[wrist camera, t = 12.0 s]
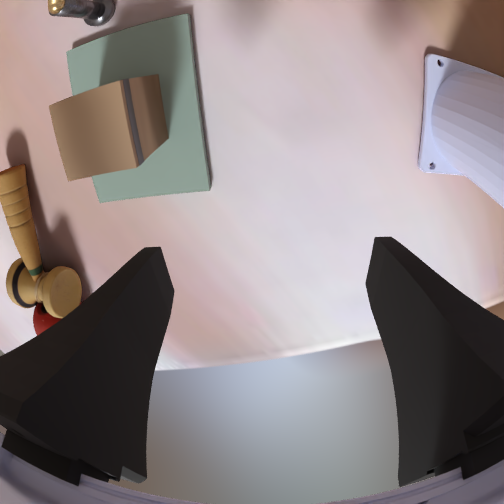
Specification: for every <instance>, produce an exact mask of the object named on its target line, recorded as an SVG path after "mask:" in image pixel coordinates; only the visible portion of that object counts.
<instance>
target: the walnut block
mask: <svg viewBox="0 0 504 504" xmlns="http://www.w3.org/2000/svg"><path fill="white" fill-rule="evenodd" d="M49 109H50V114H51V118H52V123H53V127H54V132H55V136H56V140H57V144H58V147H59V151H60V155H61V158H62V162H63V165H64V169H65V172H66V175H67V179H68V181H72V180H76V179H81V178H86V177H90V176H95V175H100V174H105V173H111V172H116V171H122V170H127V169H133V168H137V167H138V166H140V165H141V164H142V163H143V162H144V161H145V160H146V159H147V158H148V157H149V156H150V155H151V154H152V153H153V152H154V151H155V150H156V149H158V148H159V147H160V146H161V145H162V144H163V143H164V142H165V141H167V140H168V139H169V137H168V132H167V126H166V120H165V114H164V108H163V101H162V95H161V88H160V81H159V74H155V75H149V76H142V77H136V78H130V79H129V78H128V79H123V80H119V81H116V82H112V83H109V84H106V85H103V86H100V87H97V88H94V89H91V90H88V91H85V92H82V93H80V94H77V95H74V96H72V97H69V98H66V99H64V100H62V101H59V102H57V103H54V104H52V105H50V106H49Z"/></svg>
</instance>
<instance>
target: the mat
mask: <svg viewBox="0 0 504 504" xmlns="http://www.w3.org/2000/svg"><path fill="white" fill-rule="evenodd" d="M66 53H67V61H68V69H69V76H70V82H71V88H72V94H73V96H74V95H77V94H80V93H82V92H85V91H88V90H91V89H94V88H97V87H100V86H103V85H106V84H109V83H112V82H116V81H119V80H123V79H128V78H129V79H130V78H136V77H142V76H149V75H155V74H159V81H160V88H161V95H162V101H163V108H164V114H165V120H166V126H167V132H168V137H169V139H168V140H167V141H165V142H164V143H163V144H162V145H161V146H160V147H159V148H158V149H156V150H155V151H154V152H153V153H152V154H151V155H150V156H149V157H148V158H147V159H146V160H145V161H144V162H143V163H142V164H141V165H140V166H138V167H137V168H133V169H127V170H122V171H116V172H111V173H105V174H100V175H95V176H92V179H93V183H94V186H95V189H96V193H97V196H98V199H99V202H100V203H103V202H110V201H117V200H125V199H133V198H141V197H150V196H159V195H168V194H178V193H189V192H200V191H210V188H211V183H210V176H209V169H208V162H207V155H206V148H205V140H204V133H203V126H202V118H201V110H200V102H199V94H198V86H197V77H196V69H195V60H194V51H193V41H192V31H191V21H190V15H189V14H182V15H177V16H173V17H168V18H164V19H160V20H156V21H152V22H148V23H144V24H141V25H137V26H134V27H131V28H127V29H124V30H121V31H118V32H115V33H112V34H109V35H107V36H104V37H101V38H98V39H96V40H93V41H91V42H88V43H86V44H83V45H81V46H79V47H76V48H74V49H72V50H70V51H67V52H66Z"/></svg>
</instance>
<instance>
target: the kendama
mask: <svg viewBox="0 0 504 504" xmlns="http://www.w3.org/2000/svg"><path fill="white" fill-rule="evenodd" d="M26 183H27V180H26V170H25V165H24V164H21V165H19V166H14V167H11V168H9V169H6V170H4V171H1V172H0V202H1V205H2V208H3V211H4V214H5V216H6V220H7V223H8V226H9V229H10V232H11V235H12V237H13V240H14V242H15V245H16V247H17V249H18V251H19V254H20V256H21V258H19V259H17V260H16V261H15V262H14V263H13V264H12V265H11V267H10V269H9V271H8V273H7V278H6V288H7V293H8V295H9V297H10V299H11V300H12V301H13V302H14V303H15V304H17V305H19V306H21V307H23V308H31V307H34V306H35V305H36V307H35V310H34V315H33V324H34V328H35V332H36V334H37V336H38V335H39V334H41V333H42V332H43V331H45V330H46V329H48V328H49V327H51V326H52V325H54V324H55V323H57V322H58V321H60V320H61V319H62V318H64V317H65V316H66V315H67V314H69V313H70V312H71V311H73V310H74V309H75V308H76V307H78V306H79V305H80V304H81V303H82V302H81V301H80V300H81V294H82V286H81V281H80V278H79V276H78V274H77V273H76V272H75V271H74V270H73V269H71V268H68V267H65V266H58V267H55V268H54V269H52V270H51V271H50V272H46V273H45V272H44V270H43V266H42V261H41V256H40V250H39V245H38V240H37V235H36V230H35V226H34V221H33V217H32V211H31V207H30V201H29V195H28V188H27V184H26Z"/></svg>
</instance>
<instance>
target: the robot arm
mask: <svg viewBox="0 0 504 504" xmlns="http://www.w3.org/2000/svg"><path fill="white" fill-rule="evenodd" d="M438 60H440V62H441V65H440V66H439V65H438V63H437V61H438ZM432 162H433V165H432V167H430V168H429V165H430V164H431V163H432ZM418 167H419V169H420V170H421V171H423V172H426V173H440V174H452V175H462V176H466V177H467V178H468V179H470V180H471V181H472V182H473V183H475V184H476V185H477V186H478V187H480V188H481V189H482V190H483V191H484V192H486V193H487V194H488V195H489V196H490V197H492V198H493V199H494V200H495V201H496V202H497V203H498V204H499V205H501V206H502V207H503V208H504V78H503V77H501V76H498V75H496V74H493V73H491V72H488V71H486V70H483V69H480V68H478V67H475V66H472V65H469V64H466V63H463V62H460V61H457V60H454V59H450V58H447V57H443V56H440V55H436V54H427V55H426V57H425V88H424V109H423V122H422V133H421V143H420V152H419V159H418ZM366 288H367V293H368V298H369V302H370V306H371V310H372V313H373V316H374V319H375V322H376V325H377V327H378V330H379V333H380V336H381V339H382V342H383V345H384V348H385V351H386V354H387V358H388V361H389V365H390V369H391V373H392V379H393V384H394V391H395V397H396V406H397V416H398V430H399V469H398V480H399V486H400V487H402V486H405V487H402V488H398V489H394V490H390V491H386V492H382V493H378V494H374V495H369V496H364V497H359V498H353V499H347V500H341V501H334V502H327V503H318V504H504V320H503V319H501V318H499V317H498V316H496V315H494V314H492V313H491V312H489V311H488V310H486V309H485V308H483V307H482V306H480V305H479V304H477V303H476V302H474V301H473V300H472V299H470V298H469V297H467V296H466V295H464V294H463V293H462V292H460V291H459V290H458V289H456V288H455V287H454V286H453V285H451V284H450V283H449V282H447V281H446V280H445V279H444V278H442V277H441V276H440V275H439V274H437V273H436V272H435V271H434V270H432V269H431V268H430V267H429V266H428V265H426V264H425V263H424V262H423V261H422V260H420V259H419V258H418V257H417V256H416V255H414V254H413V253H412V252H411V251H409V250H408V249H407V248H406V247H404V246H403V245H402V244H401V243H399V242H398V241H397V240H395V239H394V238H392V237H375V239H374V244H373V250H372V255H371V260H370V265H369V270H368V274H367V279H366ZM173 297H174V288H173V285H172V282H171V279H170V276H169V273H168V269H167V266H166V263H165V260H164V256H163V253H162V250H161V247H146V248H144V249H142V250H141V251H140V252H138V253H137V254H136V255H135V256H134V257H133V258H131V259H130V260H129V261H128V262H127V263H126V264H125V265H124V266H123V267H121V268H120V269H119V270H118V271H117V272H116V273H115V274H114V275H113V276H112V277H111V278H109V279H108V280H107V281H106V282H105V283H104V284H103V285H102V286H101V287H99V288H98V289H97V290H96V291H95V292H94V293H93V294H92V295H90V296H89V297H88V298H87V299H86V300H85V301H84V302H82V303H81V304H80V305H79V306H78V307H76V308H75V309H74V310H73V311H71V312H70V313H69V314H67V315H66V316H65V317H64V318H62V319H61V320H60V321H58V322H57V323H55V324H54V325H52V326H51V327H49V328H48V329H46V330H45V331H43V332H42V333H41V334H39V335H38V336H36V337H35V338H33V339H31V340H30V341H28V342H26V343H25V344H23V345H21V346H19V347H17V348H16V349H14V350H12V351H10V352H8V353H6V354H4V355H2V356H0V425H2V426H3V427H5V428H6V429H7V431H6V434H5V435H4V434H2V433H1V432H0V504H208V503H199V502H192V501H184V500H178V499H173V498H167V497H161V496H157V495H152V494H148V493H143V492H139V491H135V490H131V489H127V488H124V487H120V486H117V485H113V484H110V483H108V481H109V479H111V480H115V481H118V482H119V481H120V479H123V480H127V481H131V482H135V483H141V482H143V481H145V480H146V479H147V470H146V438H147V420H148V410H149V400H150V393H151V386H152V380H153V375H154V371H155V367H156V363H157V360H158V356H159V353H160V349H161V346H162V343H163V339H164V336H165V333H166V329H167V326H168V322H169V319H170V315H171V309H172V304H173ZM434 476H435V477H434ZM431 477H433V478H431ZM427 478H430V479H427ZM425 479H427V480H425ZM422 480H424V481H422ZM419 481H421V482H419ZM416 482H419V483H416ZM412 483H415V484H412ZM408 484H412V485H409V486H406V485H408Z"/></svg>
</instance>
